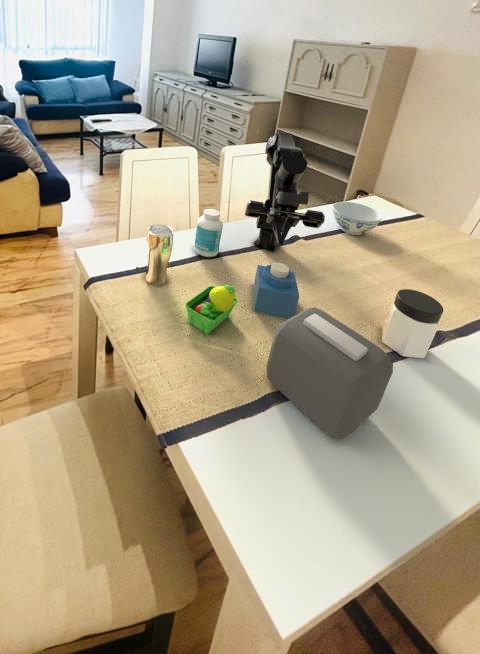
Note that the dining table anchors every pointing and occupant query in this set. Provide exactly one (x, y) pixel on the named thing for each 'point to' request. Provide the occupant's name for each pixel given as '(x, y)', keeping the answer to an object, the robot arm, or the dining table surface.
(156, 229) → the beer glass
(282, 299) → the soap bottle
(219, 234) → the pill bottle
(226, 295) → the fruit basket
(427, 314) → the jar
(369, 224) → the chinaware
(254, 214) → the robot arm
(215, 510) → the dining table surface
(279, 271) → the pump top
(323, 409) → the alarm clock
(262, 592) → the dining table surface
